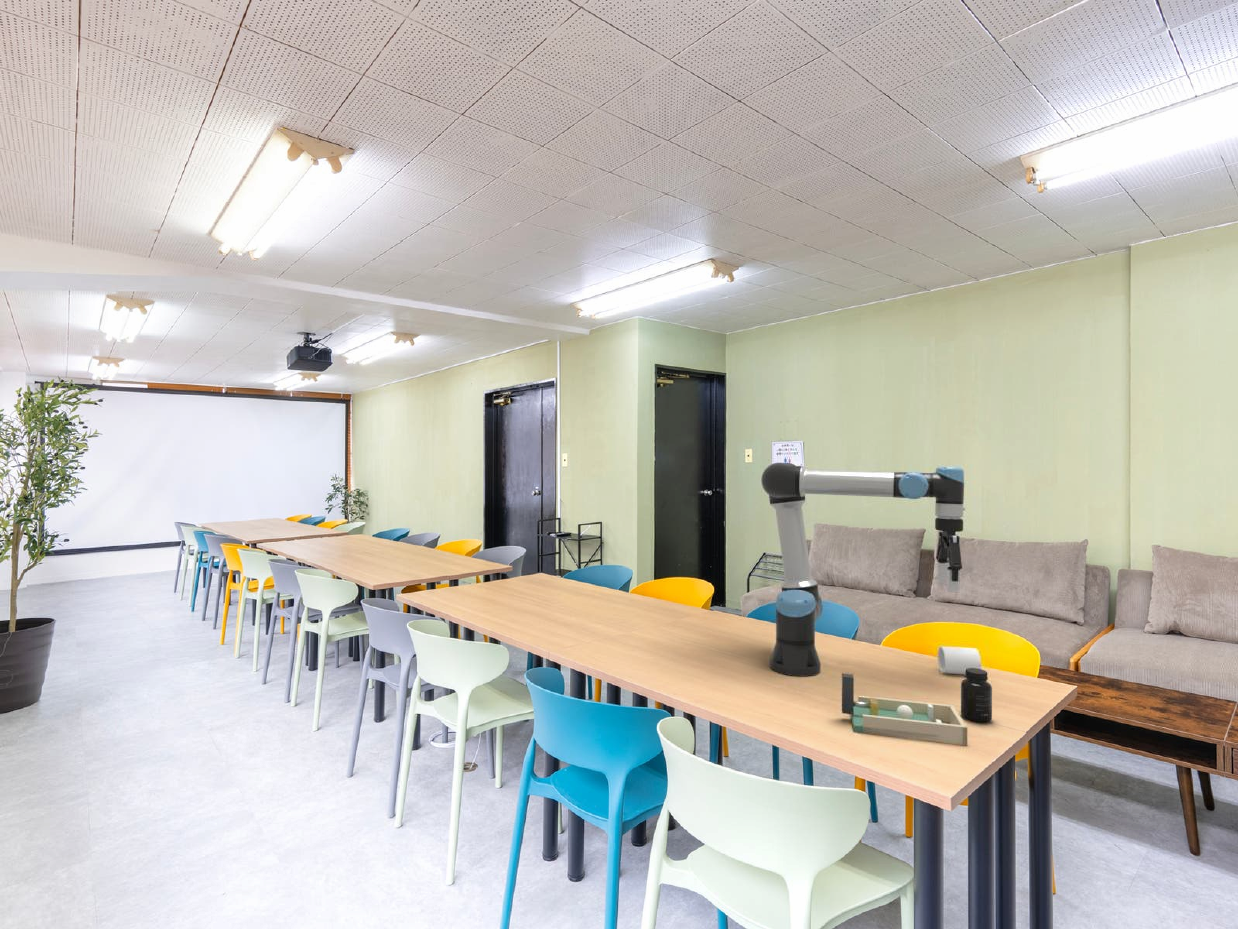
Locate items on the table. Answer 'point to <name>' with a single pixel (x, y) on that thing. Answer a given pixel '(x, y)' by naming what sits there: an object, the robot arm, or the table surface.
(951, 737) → the pitch
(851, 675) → the uneven dumbbell
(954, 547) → the robot arm
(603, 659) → the table surface
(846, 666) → the table surface
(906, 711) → the ball
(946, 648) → the mug
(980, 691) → the supplement bottle
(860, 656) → the table surface
